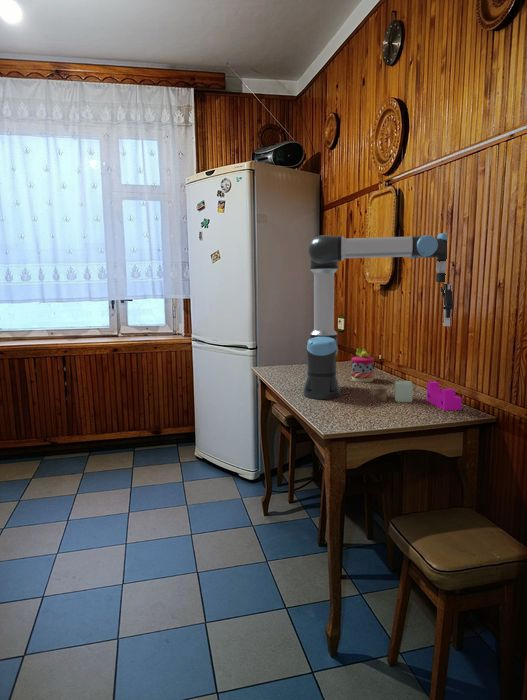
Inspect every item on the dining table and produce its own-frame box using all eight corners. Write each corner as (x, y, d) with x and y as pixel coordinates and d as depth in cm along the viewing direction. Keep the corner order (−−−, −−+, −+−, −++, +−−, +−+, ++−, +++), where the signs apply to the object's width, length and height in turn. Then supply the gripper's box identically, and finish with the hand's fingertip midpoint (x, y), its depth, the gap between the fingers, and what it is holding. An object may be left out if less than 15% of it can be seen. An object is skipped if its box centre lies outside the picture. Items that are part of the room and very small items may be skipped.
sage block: (395, 401, 180) (396, 383, 179) (394, 398, 186) (395, 380, 185) (412, 402, 179) (412, 384, 178) (410, 398, 185) (410, 381, 184)
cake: (378, 382, 216) (379, 350, 214) (360, 384, 211) (360, 351, 209) (364, 378, 225) (365, 347, 223) (346, 380, 221) (346, 348, 219)
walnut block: (373, 401, 181) (373, 388, 180) (370, 398, 186) (370, 386, 185) (386, 401, 181) (386, 388, 180) (383, 398, 186) (383, 386, 185)
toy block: (461, 410, 167) (462, 389, 166) (444, 410, 167) (445, 390, 166) (442, 400, 182) (442, 381, 181) (426, 400, 182) (427, 381, 181)
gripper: (462, 271, 176) (460, 327, 179) (449, 272, 201) (447, 322, 204) (442, 271, 178) (439, 327, 181) (431, 273, 202) (429, 322, 205)
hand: (444, 324), depth 192 cm, fingers open, 13 cm apart
